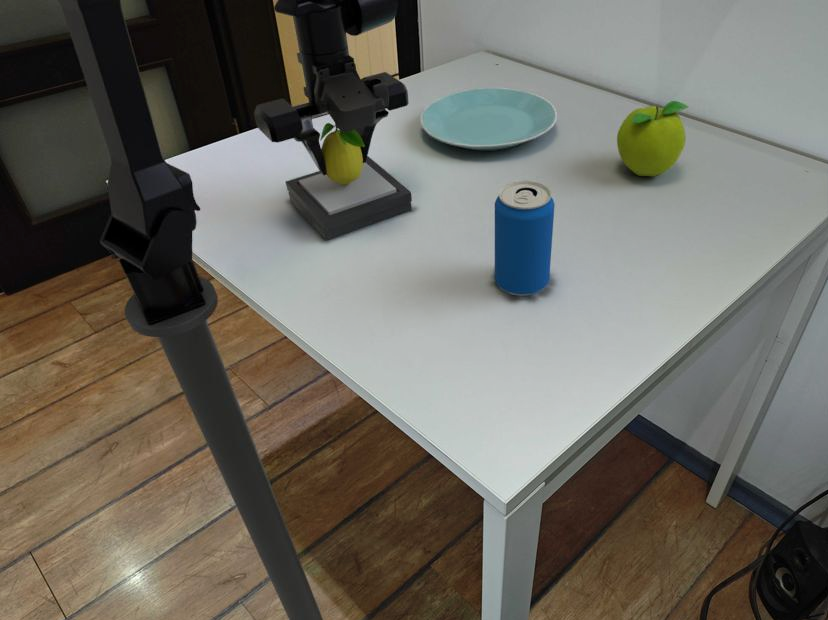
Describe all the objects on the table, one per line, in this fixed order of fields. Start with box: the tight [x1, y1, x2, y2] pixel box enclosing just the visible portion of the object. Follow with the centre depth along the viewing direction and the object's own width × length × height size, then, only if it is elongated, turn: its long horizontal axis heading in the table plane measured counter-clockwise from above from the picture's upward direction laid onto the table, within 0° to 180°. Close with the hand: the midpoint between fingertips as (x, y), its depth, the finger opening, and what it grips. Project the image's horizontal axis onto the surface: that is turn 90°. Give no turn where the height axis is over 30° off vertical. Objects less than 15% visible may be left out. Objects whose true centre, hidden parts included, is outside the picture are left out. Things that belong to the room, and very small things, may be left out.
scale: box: [285, 155, 413, 241], centre depth 92 cm, size 13×13×3 cm
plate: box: [419, 86, 558, 151], centre depth 108 cm, size 22×22×3 cm
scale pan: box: [299, 163, 397, 216], centre depth 92 cm, size 10×10×2 cm
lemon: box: [319, 122, 365, 185], centre depth 88 cm, size 7×6×10 cm
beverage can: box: [494, 180, 556, 297], centre depth 75 cm, size 6×6×12 cm
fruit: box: [616, 100, 689, 177], centre depth 95 cm, size 9×9×10 cm
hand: (343, 168), depth 89 cm, fingers closed on lemon, 5 cm apart
